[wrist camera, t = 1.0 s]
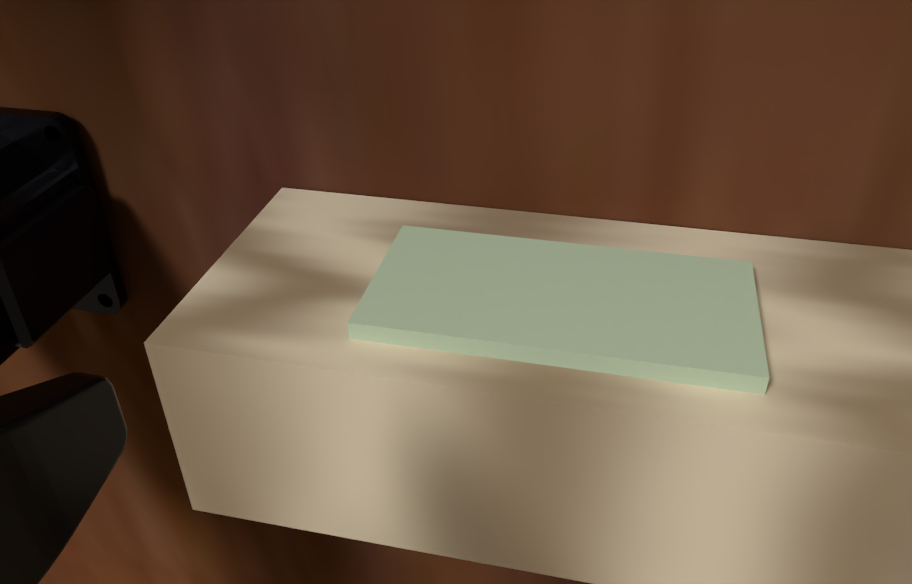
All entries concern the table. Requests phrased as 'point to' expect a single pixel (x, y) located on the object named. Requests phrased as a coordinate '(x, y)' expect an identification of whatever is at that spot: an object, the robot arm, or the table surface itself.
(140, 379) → the table surface
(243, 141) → the table surface
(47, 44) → the table surface
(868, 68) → the table surface
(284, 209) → the block
